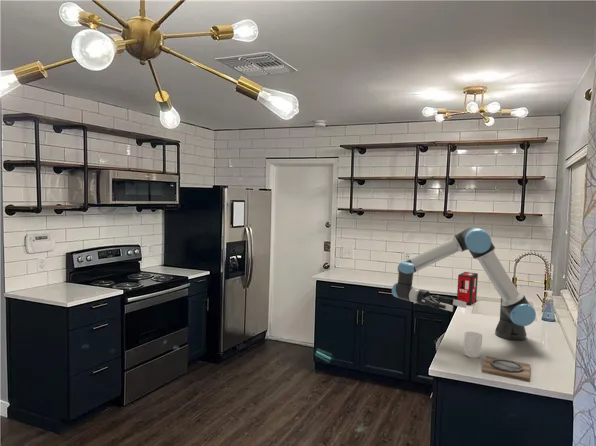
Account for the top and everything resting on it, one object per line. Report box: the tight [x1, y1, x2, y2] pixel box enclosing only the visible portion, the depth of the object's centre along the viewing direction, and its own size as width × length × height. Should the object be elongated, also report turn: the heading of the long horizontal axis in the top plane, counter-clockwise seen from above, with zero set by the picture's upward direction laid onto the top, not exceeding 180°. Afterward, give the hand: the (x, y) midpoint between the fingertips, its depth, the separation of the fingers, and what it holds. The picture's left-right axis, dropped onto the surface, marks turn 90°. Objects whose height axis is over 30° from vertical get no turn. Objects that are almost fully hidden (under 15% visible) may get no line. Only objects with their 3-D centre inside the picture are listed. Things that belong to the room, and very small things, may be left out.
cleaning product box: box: [456, 271, 479, 307], centre depth 311 cm, size 16×9×20 cm, turn 145°
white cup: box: [463, 331, 484, 359], centre depth 208 cm, size 8×8×10 cm
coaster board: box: [481, 355, 531, 382], centre depth 193 cm, size 18×18×2 cm
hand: (459, 307), depth 213 cm, fingers open, 13 cm apart
